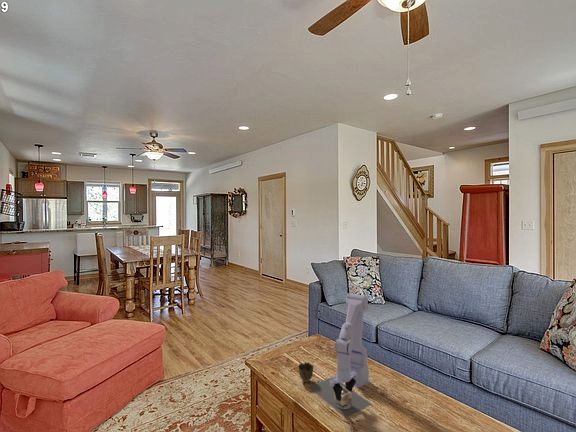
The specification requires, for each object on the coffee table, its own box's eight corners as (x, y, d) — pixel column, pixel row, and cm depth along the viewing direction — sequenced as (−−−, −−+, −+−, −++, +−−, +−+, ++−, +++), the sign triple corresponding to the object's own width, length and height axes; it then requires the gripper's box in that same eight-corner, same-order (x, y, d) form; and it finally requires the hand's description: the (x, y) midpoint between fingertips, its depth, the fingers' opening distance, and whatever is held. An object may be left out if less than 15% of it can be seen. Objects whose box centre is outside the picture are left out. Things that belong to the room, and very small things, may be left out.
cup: (301, 387, 146) (301, 370, 146) (296, 378, 153) (296, 363, 153) (315, 384, 148) (315, 368, 148) (310, 376, 155) (310, 361, 155)
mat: (333, 377, 154) (333, 376, 154) (372, 405, 132) (372, 404, 132) (308, 387, 146) (308, 386, 146) (345, 418, 124) (345, 417, 124)
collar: (343, 395, 136) (343, 386, 136) (351, 401, 131) (351, 392, 131) (334, 399, 133) (334, 390, 133) (342, 405, 129) (342, 396, 128)
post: (343, 398, 137) (343, 385, 137) (354, 406, 131) (354, 393, 131) (332, 403, 133) (332, 390, 133) (342, 412, 127) (342, 398, 127)
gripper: (349, 358, 139) (349, 387, 139) (324, 367, 131) (324, 398, 131) (360, 365, 133) (360, 395, 133) (335, 374, 125) (335, 407, 125)
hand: (343, 397), depth 132 cm, fingers closed on collar, 5 cm apart
